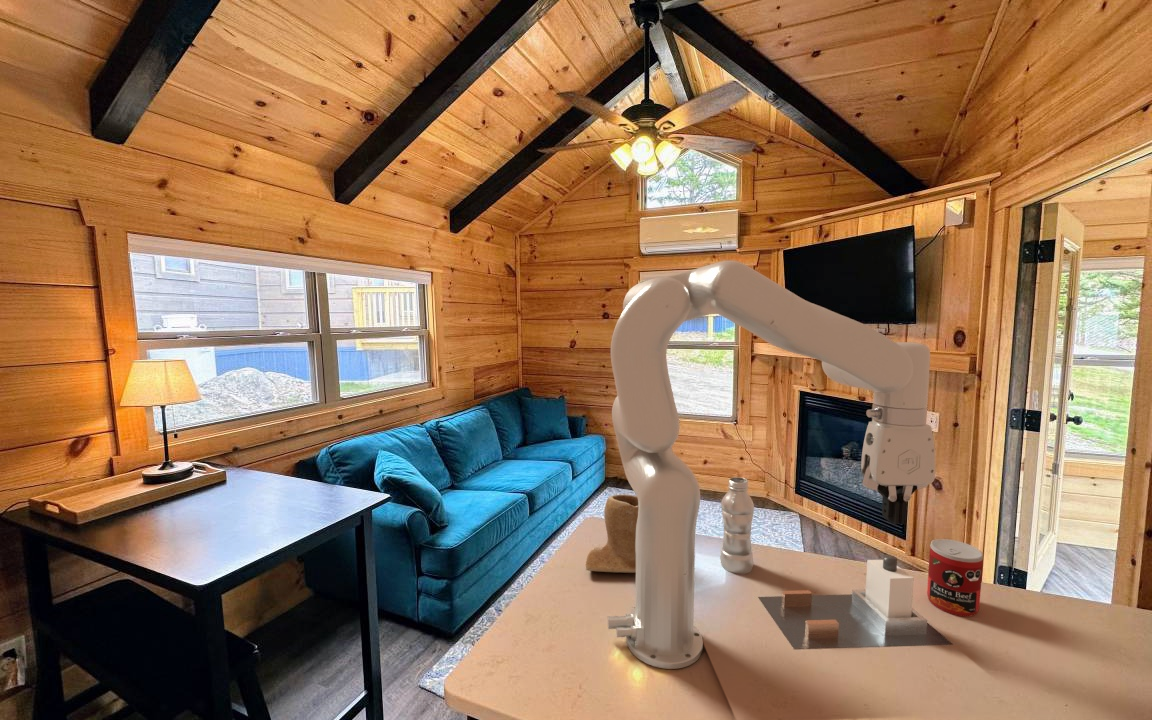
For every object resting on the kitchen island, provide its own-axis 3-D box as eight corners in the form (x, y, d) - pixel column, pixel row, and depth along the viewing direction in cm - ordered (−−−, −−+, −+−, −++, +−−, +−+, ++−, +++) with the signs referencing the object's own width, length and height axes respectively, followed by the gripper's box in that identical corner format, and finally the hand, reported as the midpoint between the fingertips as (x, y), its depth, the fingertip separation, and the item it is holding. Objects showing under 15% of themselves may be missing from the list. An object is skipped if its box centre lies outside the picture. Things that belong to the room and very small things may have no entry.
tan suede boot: (653, 551, 109) (653, 488, 108) (659, 580, 97) (659, 510, 96) (587, 550, 110) (587, 487, 109) (585, 578, 98) (585, 508, 97)
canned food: (923, 605, 88) (927, 549, 87) (929, 587, 94) (933, 534, 93) (977, 623, 83) (982, 564, 82) (980, 603, 89) (984, 547, 88)
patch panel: (793, 656, 76) (794, 634, 75) (757, 602, 89) (758, 584, 89) (952, 651, 76) (954, 629, 76) (892, 599, 90) (893, 580, 90)
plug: (887, 629, 80) (890, 567, 79) (864, 607, 86) (867, 549, 85) (910, 628, 80) (914, 566, 79) (886, 606, 86) (889, 548, 85)
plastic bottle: (757, 580, 97) (760, 485, 95) (724, 580, 97) (727, 485, 95) (747, 563, 104) (749, 474, 102) (716, 563, 104) (717, 474, 102)
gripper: (869, 421, 76) (864, 532, 77) (960, 419, 76) (953, 529, 78) (841, 412, 83) (837, 512, 85) (925, 410, 84) (919, 510, 85)
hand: (893, 520), depth 81 cm, fingers closed
